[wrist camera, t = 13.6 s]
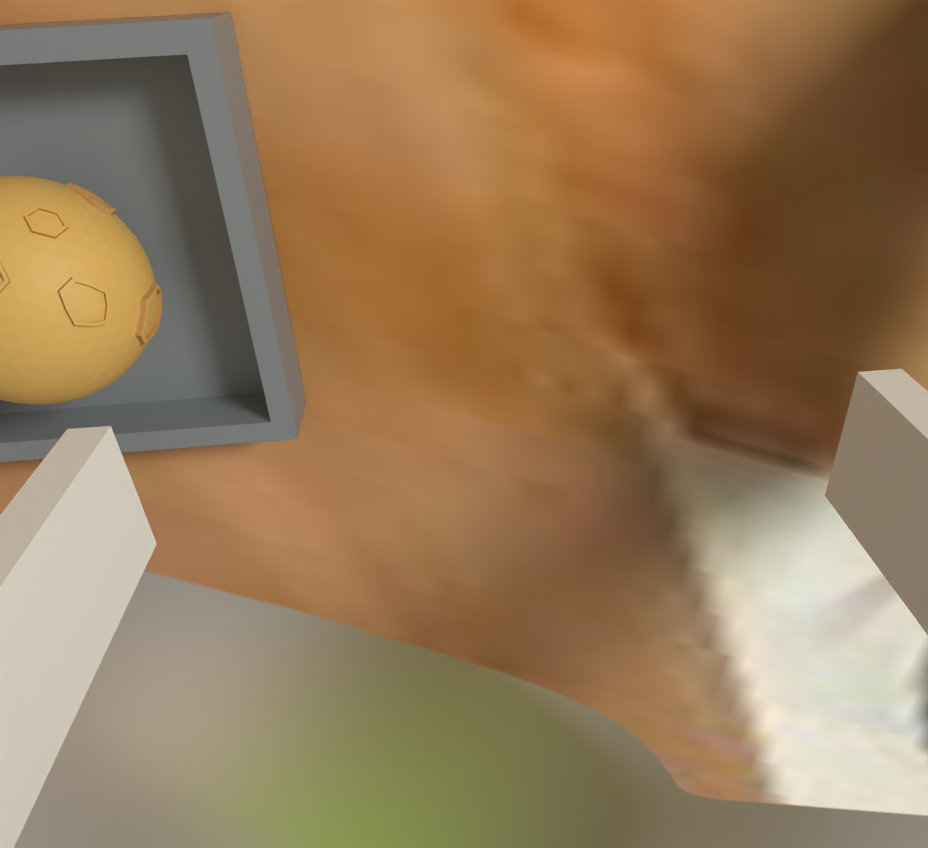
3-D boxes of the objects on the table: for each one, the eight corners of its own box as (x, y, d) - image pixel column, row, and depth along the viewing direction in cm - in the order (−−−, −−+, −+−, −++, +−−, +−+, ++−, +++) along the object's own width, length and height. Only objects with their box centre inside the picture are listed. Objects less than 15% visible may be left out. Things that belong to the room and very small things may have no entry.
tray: (230, 12, 32) (210, 18, 28) (305, 401, 43) (297, 439, 39) (-240, 38, 31) (-317, 48, 28) (-41, 427, 42) (-80, 468, 39)
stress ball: (100, 352, 40) (213, 394, 35) (-109, 400, 33) (-6, 463, 27) (69, 162, 36) (191, 177, 31) (-177, 167, 29) (-73, 189, 24)
